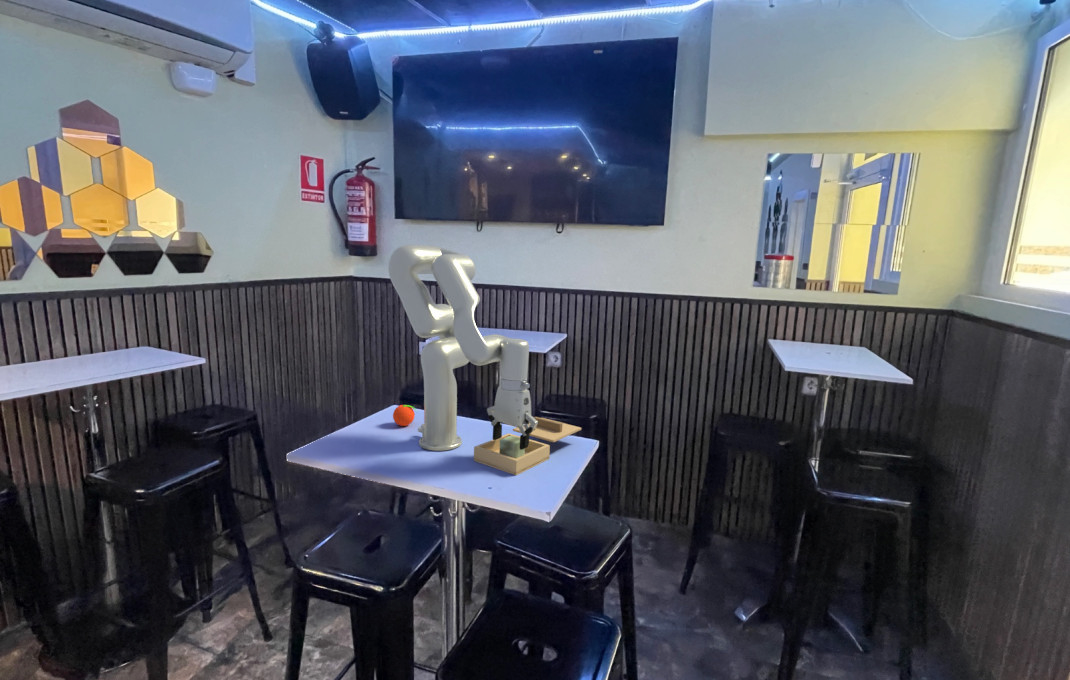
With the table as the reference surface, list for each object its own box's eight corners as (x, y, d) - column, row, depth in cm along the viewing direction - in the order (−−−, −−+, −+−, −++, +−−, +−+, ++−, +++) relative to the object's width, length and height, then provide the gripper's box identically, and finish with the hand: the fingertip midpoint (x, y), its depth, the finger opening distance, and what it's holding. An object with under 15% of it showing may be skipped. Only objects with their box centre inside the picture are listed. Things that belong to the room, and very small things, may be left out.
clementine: (419, 422, 175) (419, 402, 174) (415, 429, 168) (415, 408, 167) (396, 421, 175) (396, 401, 174) (390, 428, 168) (390, 407, 167)
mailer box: (473, 460, 144) (474, 446, 144) (508, 446, 156) (508, 433, 156) (516, 475, 135) (516, 460, 135) (549, 458, 147) (549, 445, 147)
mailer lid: (512, 430, 157) (512, 420, 156) (541, 419, 169) (542, 410, 168) (553, 442, 148) (554, 432, 148) (581, 429, 160) (581, 419, 160)
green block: (499, 457, 145) (499, 440, 144) (510, 452, 149) (511, 435, 148) (513, 461, 142) (513, 444, 141) (524, 456, 146) (525, 439, 145)
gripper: (546, 387, 140) (543, 448, 143) (498, 375, 151) (495, 432, 153) (530, 393, 134) (526, 455, 137) (480, 380, 145) (478, 438, 147)
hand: (510, 443), depth 145 cm, fingers open, 9 cm apart
